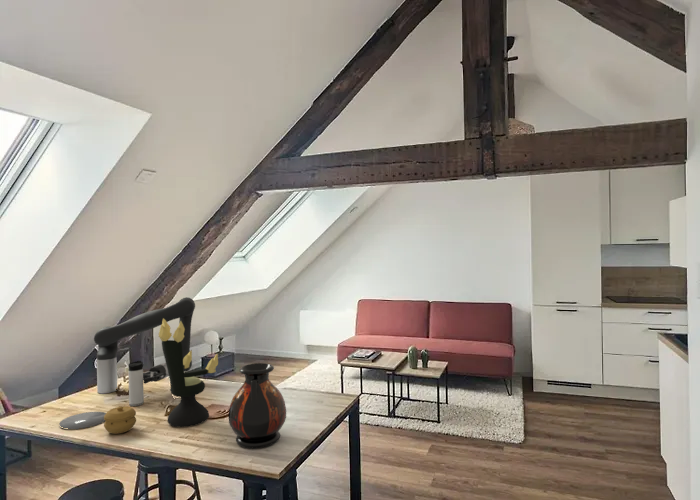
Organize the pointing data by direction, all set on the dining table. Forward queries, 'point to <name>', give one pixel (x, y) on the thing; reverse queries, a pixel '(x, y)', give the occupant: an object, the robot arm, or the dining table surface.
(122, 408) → the pot
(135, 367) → the travel mug
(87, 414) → the charcoal trivet
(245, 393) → the black and orange vase
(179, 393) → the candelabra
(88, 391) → the dining table surface
